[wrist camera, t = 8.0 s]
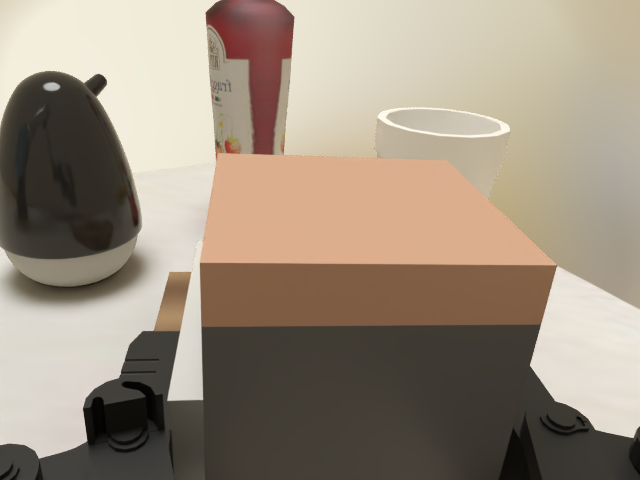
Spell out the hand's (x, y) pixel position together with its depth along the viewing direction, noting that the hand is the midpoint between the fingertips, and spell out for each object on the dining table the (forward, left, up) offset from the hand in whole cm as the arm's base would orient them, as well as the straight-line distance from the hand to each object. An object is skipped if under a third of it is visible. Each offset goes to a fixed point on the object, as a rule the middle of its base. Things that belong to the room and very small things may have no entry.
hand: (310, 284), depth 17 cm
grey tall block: (-4, -3, -7) cm, 9 cm away
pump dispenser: (+11, +29, -14) cm, 34 cm away
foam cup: (+27, +7, -14) cm, 31 cm away
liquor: (+27, +25, -14) cm, 39 cm away
